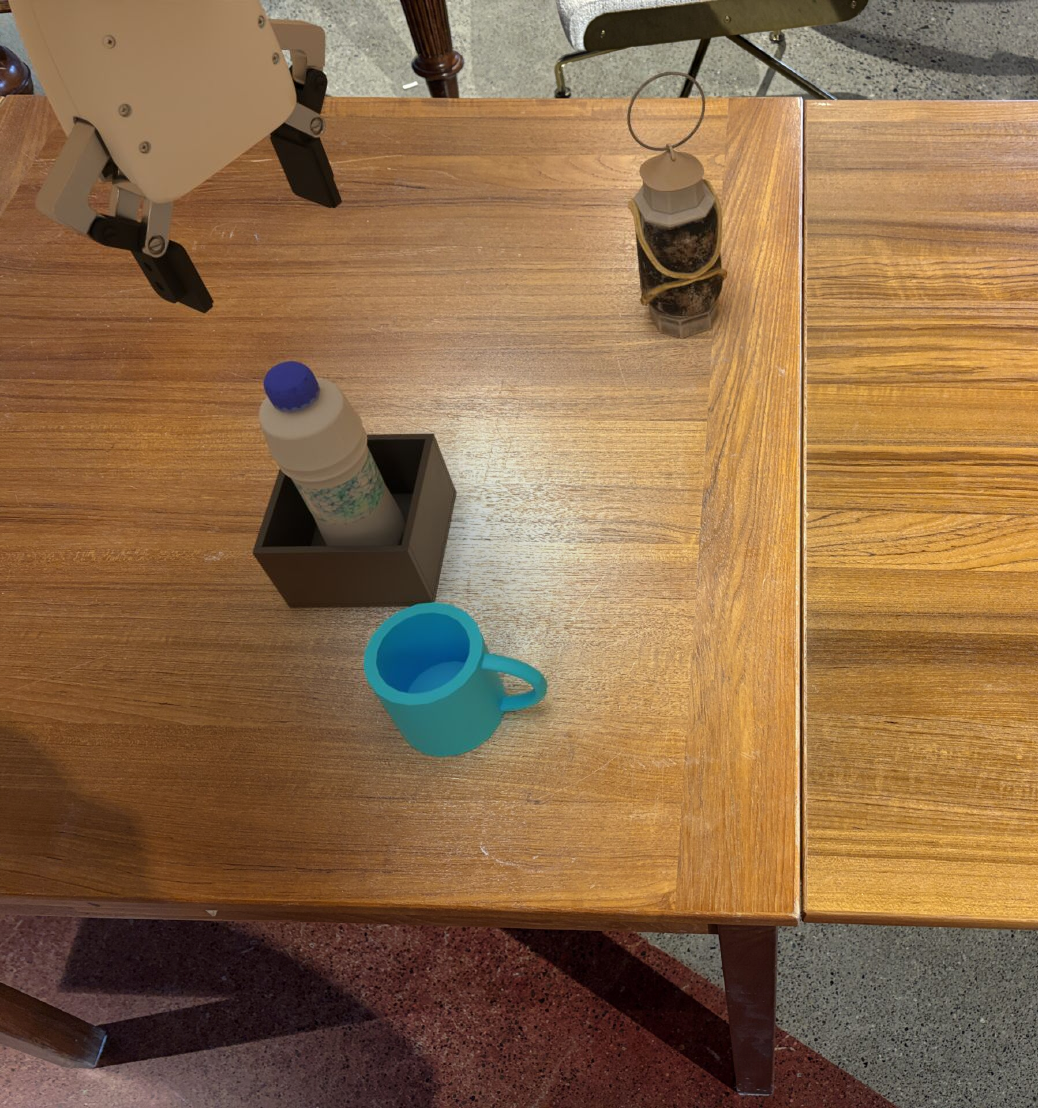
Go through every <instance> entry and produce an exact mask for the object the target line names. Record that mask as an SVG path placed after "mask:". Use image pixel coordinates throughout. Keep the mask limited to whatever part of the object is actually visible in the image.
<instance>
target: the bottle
mask: <svg viewBox="0 0 1038 1108" xmlns="http://www.w3.org/2000/svg"><path fill="white" fill-rule="evenodd" d="M263 389H264V392H265V395H266V397H265V398H264V399H263V401H262V402H261V404H260V407H259V411H258V422H259V425H260V428H261V430H262V434H263V436H264V438H265V441H266V444H267V449H268V452H269V454H270V457H271V459H273V461H274V462H275V463H276V464H277V467H278V468H279V469H281V471H282V472H283V473H284V474H286V475H287V476H288V477H290V478H291V479H292V481H293V482H294V484H295V486H296V488H297V489H298V491H299V493H300V494H301V496H302V498H303V500H304V501H305V503H306V505H307V507H308V508H309V510H310V512H311V513H312V515H313V517H314V519H315V521H316V523H317V525H318V528H319V530H320V532H321V535H322V537H323V539H324V541H325V543H326V544H327V546H376V545H399V544H400V543H402V540H403V535H404V531H405V527H406V526H405V522H404V519H403V516H402V513H401V511H400V509H399V507H398V505H397V503H396V502H395V500H394V498H393V497H392V495H391V493H390V492H389V490H388V488H387V487H386V485H385V483H384V481H383V478H382V476H381V474H380V472H379V470H378V468H377V466H376V463H375V461H374V459H373V457H372V455H371V453H370V451H369V449H368V446H367V432H366V429H365V427H364V425H363V420H362V418H361V416H360V414H359V413H358V412H357V411H356V410H355V408H354V407H353V405H352V404H351V403H350V401H349V400H348V398H347V397H346V395H345V394H344V393H343V391H342V390H341V389H340V387H339V386H337V384H335V383H334V382H333V381H330V380H329V379H325V378H322V377H316V376H315V374H314V372H313V371H312V369H311V368H310V367H308V365H306V364H304V363H302V362H299V361H295V360H288V361H282V362H279V363H277V364H275V365H273V366H272V367H271V368H270V369H269V370H268V371H267V372H266V374H265V376H264V378H263Z"/></svg>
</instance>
